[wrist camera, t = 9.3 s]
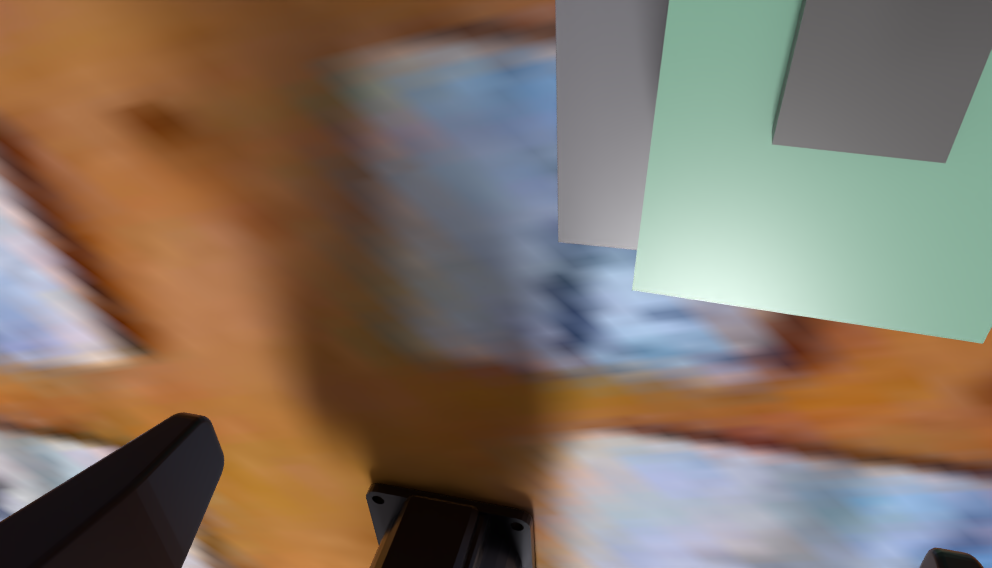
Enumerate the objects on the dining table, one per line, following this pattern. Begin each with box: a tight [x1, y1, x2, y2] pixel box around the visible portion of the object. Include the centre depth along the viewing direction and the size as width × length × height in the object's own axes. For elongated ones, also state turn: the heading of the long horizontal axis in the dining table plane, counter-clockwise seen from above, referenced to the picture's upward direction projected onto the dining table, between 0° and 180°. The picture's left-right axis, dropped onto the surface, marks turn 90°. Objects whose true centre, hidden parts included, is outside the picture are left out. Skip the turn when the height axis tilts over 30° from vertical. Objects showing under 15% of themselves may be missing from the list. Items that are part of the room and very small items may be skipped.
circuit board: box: [632, 0, 992, 343], centre depth 11 cm, size 10×6×3 cm, turn 1°
